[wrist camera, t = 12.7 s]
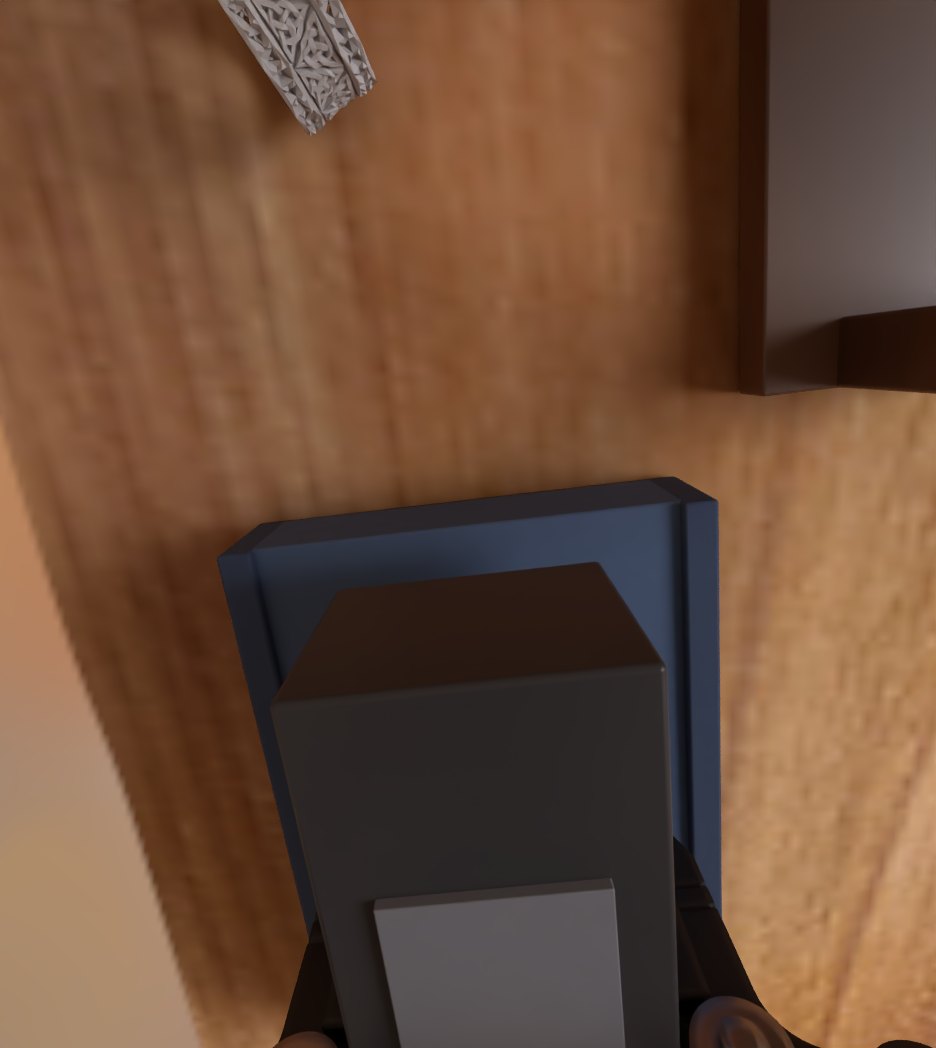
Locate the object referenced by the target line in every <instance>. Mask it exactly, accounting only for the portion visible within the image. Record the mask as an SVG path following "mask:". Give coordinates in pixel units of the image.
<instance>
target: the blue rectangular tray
mask: <svg viewBox="0 0 936 1048" xmlns="http://www.w3.org/2000/svg"><path fill="white" fill-rule="evenodd" d="M217 562H218V566H219V570H220V574H221V578H222V583H223V587H224V591H225V595H226V599H227V603H228V607H229V611H230V615H231V620H232V624H233V628H234V632H235V636H236V640H237V644H238V648H239V652H240V657H241V661H242V665H243V669H244V673H245V677H246V681H247V685H248V690H249V694H250V698H251V702H252V706H253V710H254V714H255V718H256V722H257V727H258V731H259V735H260V739H261V743H262V747H263V751H264V755H265V759H266V764H267V768H268V772H269V776H270V780H271V784H272V788H273V792H274V797H275V801H276V805H277V809H278V813H279V817H280V821H281V825H282V829H283V834H284V838H285V842H286V846H287V850H288V854H289V858H290V862H291V866H292V871H293V875H294V879H295V883H296V887H297V891H298V895H299V899H300V904H301V908H302V912H303V916H304V920H305V924H306V928H307V932H308V936H310V932H311V929H312V925H313V922H315V914H316V911H317V909H316V904H315V900H314V896H313V891H312V887H311V883H310V879H309V874H308V870H307V866H306V861H305V857H304V853H303V849H302V844H301V840H300V836H299V831H298V827H297V823H296V819H295V814H294V810H293V806H292V801H291V797H290V793H289V788H288V784H287V780H286V776H285V771H284V767H283V763H282V758H281V754H280V750H279V746H278V741H277V737H276V733H275V728H274V724H273V720H272V716H271V711H270V707H271V703H272V701H273V699H274V698H275V696H276V694H277V693H278V691H279V689H280V688H281V686H282V684H283V682H284V681H285V679H286V677H287V676H288V674H289V672H290V671H291V669H292V667H293V665H294V664H295V662H296V660H297V659H298V657H299V655H300V654H301V652H302V650H303V648H304V647H305V645H306V643H307V642H308V640H309V638H310V637H311V635H312V633H313V632H314V630H315V628H316V626H317V625H318V623H319V621H320V620H321V618H322V616H323V615H324V613H325V611H326V609H327V608H328V606H329V604H330V603H331V601H332V599H333V598H334V596H335V594H336V592H338V591H339V590H343V589H352V588H361V587H370V586H379V585H388V584H397V583H406V582H415V581H424V580H433V579H442V578H451V577H460V576H469V575H478V574H488V573H497V572H506V571H515V570H524V569H533V568H542V567H551V566H560V565H569V564H578V563H587V562H598V563H600V564H601V566H602V567H603V569H604V570H605V572H606V573H607V575H608V577H609V578H610V580H611V581H612V583H613V584H614V586H615V587H616V589H617V590H618V592H619V593H620V595H621V596H622V598H623V600H624V601H625V603H626V604H627V606H628V607H629V609H630V610H631V612H632V613H633V615H634V616H635V618H636V620H637V621H638V623H639V624H640V626H641V627H642V629H643V630H644V632H645V633H646V635H647V636H648V638H649V640H650V641H651V643H652V644H653V646H654V647H655V649H656V650H657V652H658V653H659V655H660V656H661V658H662V659H663V661H664V663H665V665H666V667H667V681H668V710H669V739H670V768H671V797H672V826H673V836H674V837H675V838H676V839H677V840H678V841H679V842H680V843H681V844H682V845H683V846H684V847H685V848H686V849H687V850H688V851H689V852H690V853H691V854H692V855H693V856H694V858H695V861H696V863H697V865H698V867H699V869H700V872H701V874H702V876H703V878H704V881H705V885H706V887H708V889H709V892H710V894H711V896H712V898H713V900H714V903H715V907H716V909H718V912H719V914H720V916H721V918H722V895H721V772H720V648H719V525H718V501H717V500H716V499H714V498H712V497H710V496H709V495H707V494H705V493H703V492H701V491H700V490H698V489H696V488H694V487H692V486H691V485H689V484H687V483H685V482H683V481H682V480H680V479H678V478H676V477H665V478H656V479H650V480H649V479H648V480H639V481H630V482H622V483H613V484H604V485H596V486H587V487H578V488H570V489H561V490H552V491H544V492H535V493H526V494H518V495H509V496H500V497H492V498H483V499H474V500H466V501H457V502H448V503H440V504H431V505H422V506H414V507H405V508H396V509H388V510H379V511H370V512H361V513H353V514H344V515H335V516H327V517H318V518H309V519H301V520H292V521H285V522H274V523H266V524H260V525H259V526H257V527H256V528H255V529H253V530H252V531H251V532H249V533H248V534H247V535H246V536H244V537H243V538H242V539H240V540H239V541H238V542H236V543H235V544H234V545H232V546H231V547H230V548H229V549H227V550H226V551H225V552H223V553H222V554H221V555H219V556H218V557H217Z"/></svg>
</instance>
